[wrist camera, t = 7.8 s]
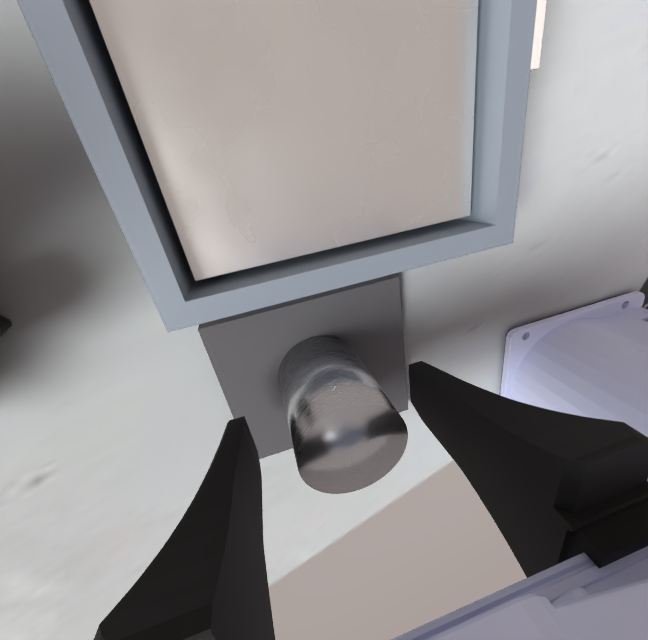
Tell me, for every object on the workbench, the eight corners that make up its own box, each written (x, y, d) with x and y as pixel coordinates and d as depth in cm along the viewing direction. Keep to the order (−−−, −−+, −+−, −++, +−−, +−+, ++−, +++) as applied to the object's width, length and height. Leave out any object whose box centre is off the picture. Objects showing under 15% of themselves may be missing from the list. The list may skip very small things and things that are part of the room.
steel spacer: (354, 326, 15) (407, 390, 10) (361, 393, 16) (408, 473, 12) (270, 347, 14) (287, 425, 9) (286, 414, 16) (307, 507, 11)
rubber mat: (393, 273, 15) (399, 276, 14) (403, 402, 18) (408, 409, 18) (199, 323, 13) (197, 329, 13) (250, 452, 17) (251, 461, 16)
